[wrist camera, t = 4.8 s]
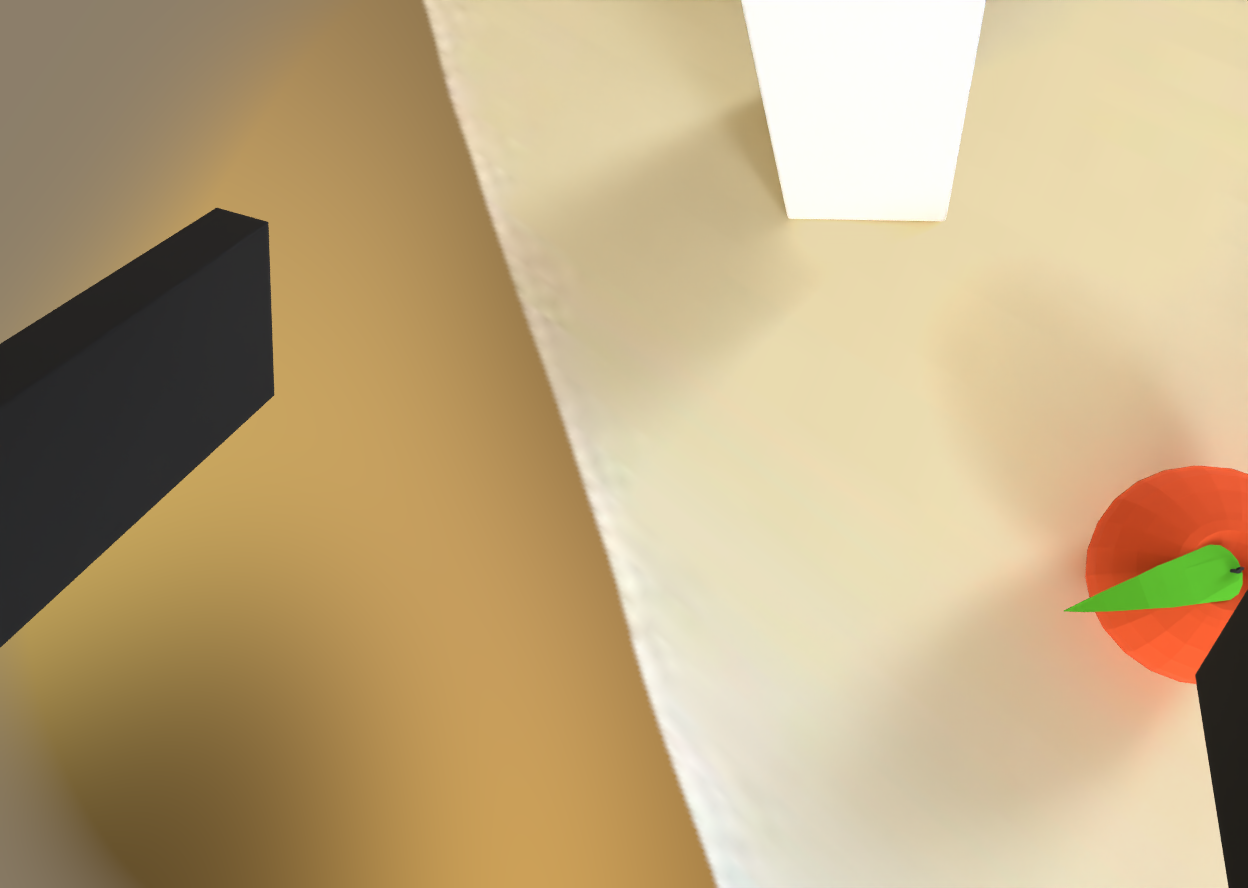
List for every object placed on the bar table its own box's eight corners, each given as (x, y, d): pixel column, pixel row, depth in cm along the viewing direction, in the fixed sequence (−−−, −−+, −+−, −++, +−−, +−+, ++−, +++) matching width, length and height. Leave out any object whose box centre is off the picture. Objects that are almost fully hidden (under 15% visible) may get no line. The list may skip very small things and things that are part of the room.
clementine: (1076, 710, 40) (1118, 729, 33) (1011, 518, 42) (1038, 499, 35) (1316, 649, 39) (1411, 656, 32) (1241, 454, 40) (1316, 420, 34)
